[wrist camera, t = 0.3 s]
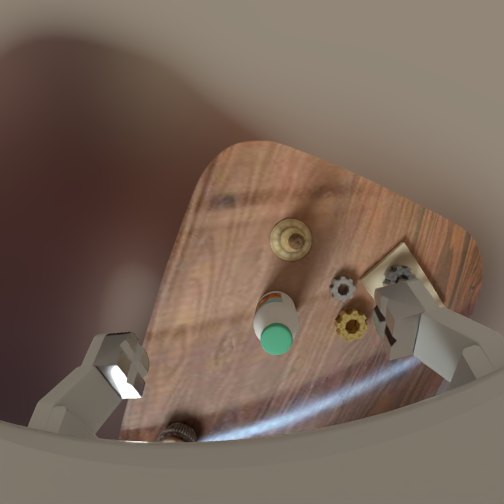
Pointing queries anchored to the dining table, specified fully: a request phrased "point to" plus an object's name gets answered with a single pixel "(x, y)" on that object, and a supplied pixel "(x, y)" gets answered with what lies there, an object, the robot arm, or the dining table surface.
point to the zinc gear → (347, 293)
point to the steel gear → (397, 274)
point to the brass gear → (355, 331)
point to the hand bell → (290, 239)
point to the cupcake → (178, 434)
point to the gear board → (399, 257)
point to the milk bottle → (276, 322)
